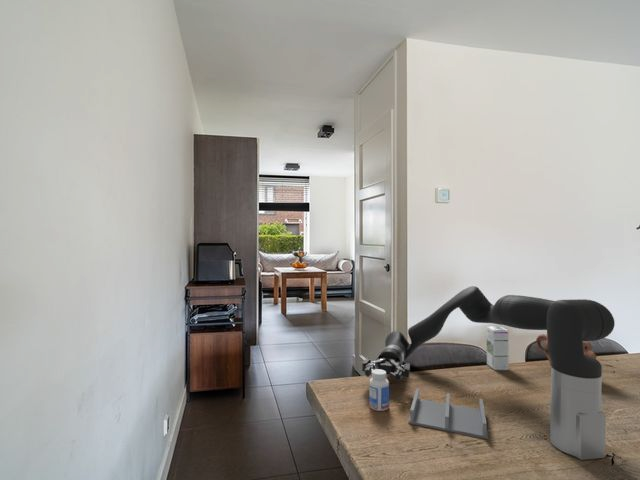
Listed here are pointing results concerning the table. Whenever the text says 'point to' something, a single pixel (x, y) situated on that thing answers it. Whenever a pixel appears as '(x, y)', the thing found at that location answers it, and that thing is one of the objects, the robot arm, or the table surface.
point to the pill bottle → (379, 390)
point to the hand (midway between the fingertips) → (381, 375)
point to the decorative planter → (586, 348)
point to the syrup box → (497, 348)
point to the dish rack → (449, 416)
